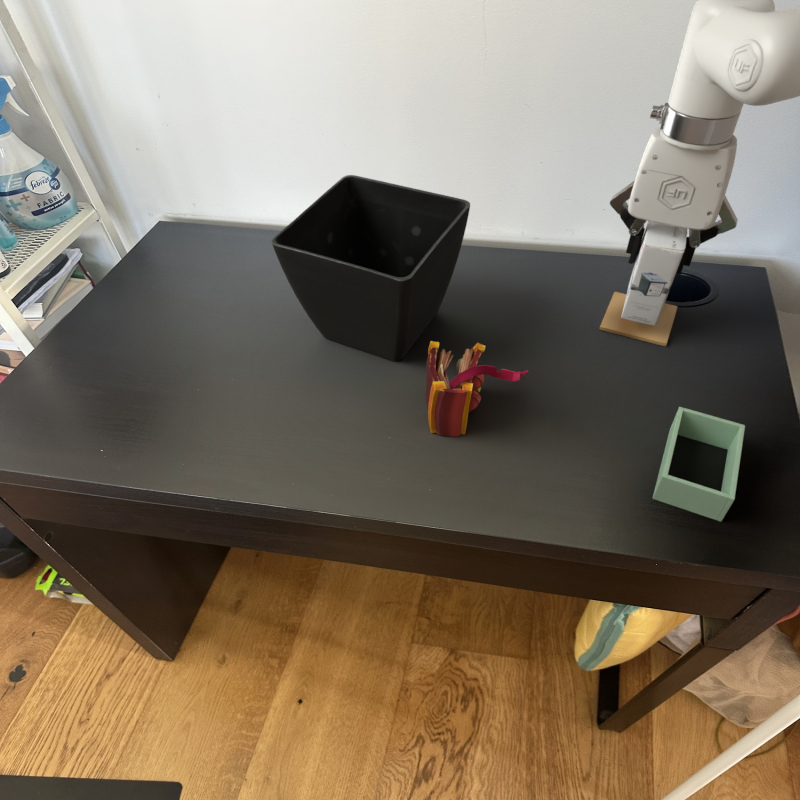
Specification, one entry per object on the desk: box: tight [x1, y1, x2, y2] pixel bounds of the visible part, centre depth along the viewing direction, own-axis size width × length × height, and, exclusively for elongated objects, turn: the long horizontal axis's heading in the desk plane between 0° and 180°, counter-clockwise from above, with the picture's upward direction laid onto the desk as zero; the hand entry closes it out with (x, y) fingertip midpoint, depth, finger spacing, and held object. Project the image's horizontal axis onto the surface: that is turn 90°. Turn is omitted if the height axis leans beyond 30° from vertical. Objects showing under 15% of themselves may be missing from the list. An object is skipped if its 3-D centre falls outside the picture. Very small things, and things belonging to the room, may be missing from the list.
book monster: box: [425, 340, 529, 438], centre depth 73 cm, size 11×9×12 cm
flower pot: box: [271, 174, 471, 362], centre depth 84 cm, size 19×19×17 cm
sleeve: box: [652, 406, 746, 522], centre depth 68 cm, size 7×11×4 cm, turn 154°
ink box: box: [621, 221, 688, 326], centre depth 83 cm, size 9×5×12 cm, turn 159°
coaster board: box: [599, 291, 679, 347], centre depth 89 cm, size 9×9×1 cm
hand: (656, 262), depth 82 cm, fingers closed on ink box, 5 cm apart
